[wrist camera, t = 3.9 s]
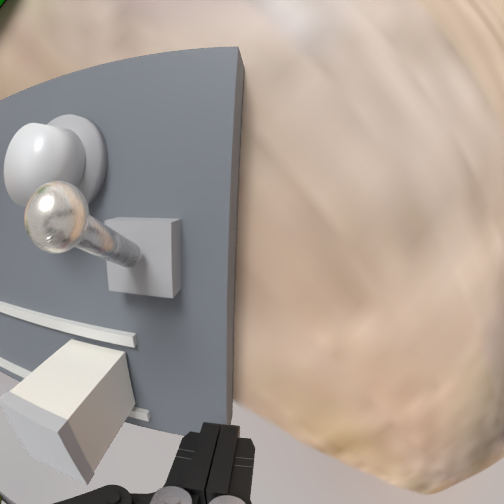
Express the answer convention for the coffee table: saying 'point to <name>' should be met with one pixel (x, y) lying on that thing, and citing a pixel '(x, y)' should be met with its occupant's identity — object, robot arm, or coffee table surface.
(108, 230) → the toggle lever
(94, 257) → the control board
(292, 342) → the coffee table surface
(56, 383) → the slider knob
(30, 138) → the push button
